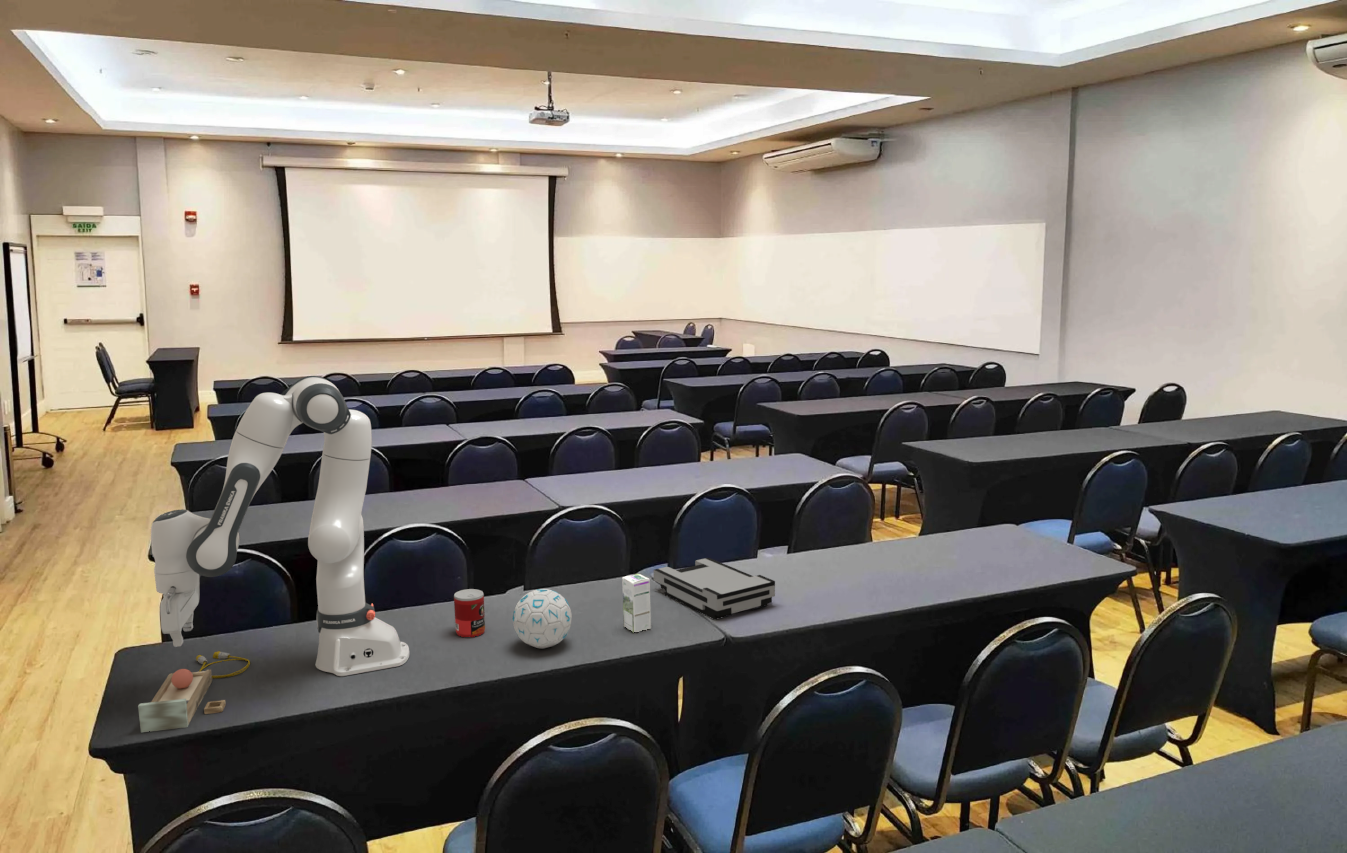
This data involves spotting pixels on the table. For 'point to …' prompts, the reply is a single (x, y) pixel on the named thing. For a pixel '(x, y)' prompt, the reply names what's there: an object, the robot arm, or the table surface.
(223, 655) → the extension cord
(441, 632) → the table surface
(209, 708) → the hollow square frame
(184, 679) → the ball
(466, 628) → the canned food
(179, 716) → the tray
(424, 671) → the table surface
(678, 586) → the game console
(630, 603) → the syrup box
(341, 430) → the robot arm
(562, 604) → the puzzle ball
